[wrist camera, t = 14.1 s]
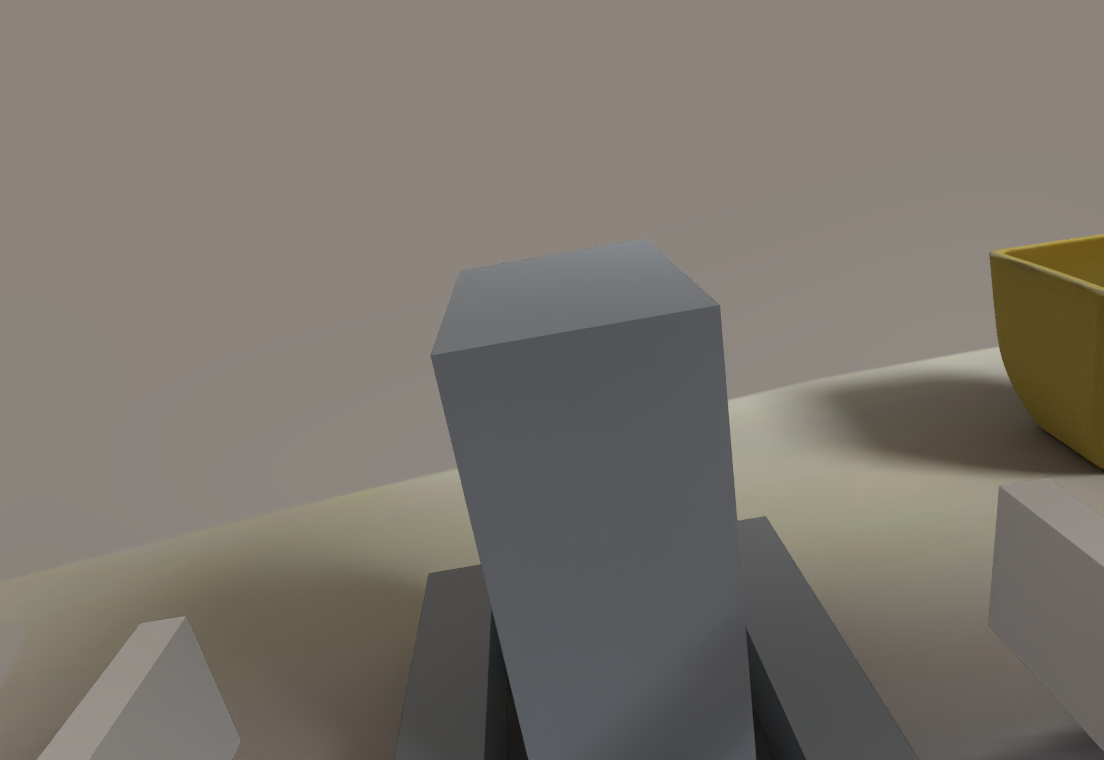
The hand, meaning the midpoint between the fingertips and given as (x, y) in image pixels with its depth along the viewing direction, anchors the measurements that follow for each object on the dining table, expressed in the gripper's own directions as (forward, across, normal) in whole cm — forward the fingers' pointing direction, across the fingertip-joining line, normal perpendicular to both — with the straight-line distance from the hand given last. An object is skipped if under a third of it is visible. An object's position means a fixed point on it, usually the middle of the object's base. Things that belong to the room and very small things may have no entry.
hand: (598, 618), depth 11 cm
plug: (+6, 0, -11) cm, 12 cm away
